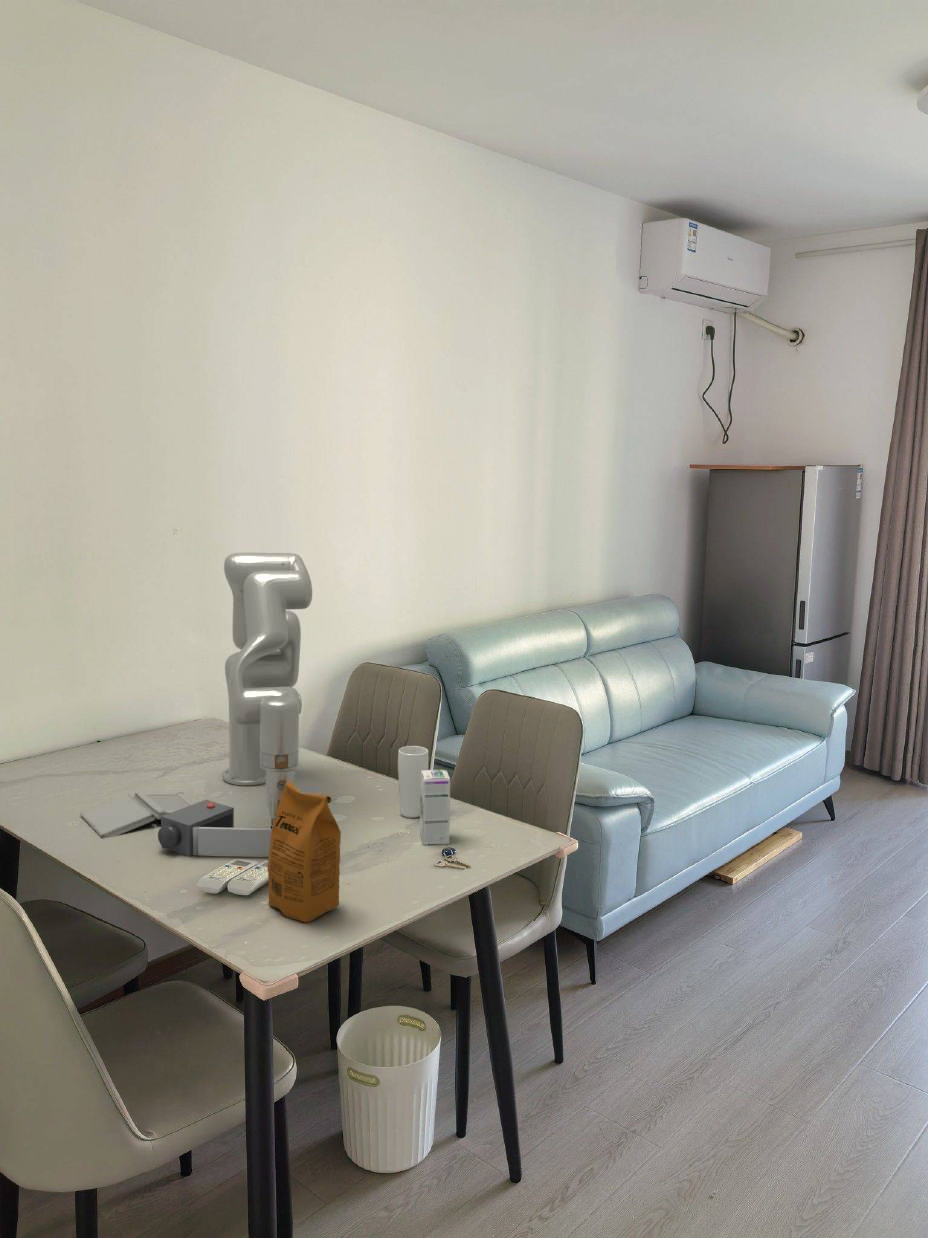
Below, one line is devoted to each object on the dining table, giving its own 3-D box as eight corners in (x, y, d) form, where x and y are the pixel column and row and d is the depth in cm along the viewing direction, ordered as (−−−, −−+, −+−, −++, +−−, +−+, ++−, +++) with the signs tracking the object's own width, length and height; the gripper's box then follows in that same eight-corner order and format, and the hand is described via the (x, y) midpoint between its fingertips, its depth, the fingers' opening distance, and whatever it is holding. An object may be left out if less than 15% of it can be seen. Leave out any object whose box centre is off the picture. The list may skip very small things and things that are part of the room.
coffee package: (303, 887, 177) (304, 773, 173) (347, 909, 169) (349, 790, 165) (258, 904, 170) (258, 785, 166) (302, 928, 161) (302, 804, 158)
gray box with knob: (206, 828, 202) (206, 796, 201) (234, 837, 198) (233, 805, 197) (153, 850, 191) (153, 816, 190) (181, 860, 187) (181, 825, 185)
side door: (293, 855, 190) (293, 828, 189) (292, 858, 188) (292, 831, 187) (193, 852, 189) (193, 826, 188) (191, 856, 188) (191, 829, 187)
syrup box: (449, 844, 199) (452, 777, 196) (421, 845, 198) (423, 778, 195) (445, 834, 204) (448, 769, 202) (418, 834, 203) (420, 769, 201)
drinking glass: (433, 814, 215) (435, 750, 212) (411, 822, 210) (413, 756, 208) (412, 806, 219) (413, 743, 217) (390, 814, 215) (391, 749, 212)
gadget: (102, 842, 196) (101, 824, 195) (79, 819, 207) (79, 802, 207) (208, 819, 210) (207, 803, 209) (181, 799, 221) (181, 783, 221)
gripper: (303, 769, 183) (302, 859, 186) (293, 746, 197) (292, 830, 200) (263, 771, 181) (263, 863, 184) (256, 748, 195) (256, 833, 198)
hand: (278, 845), depth 192 cm, fingers closed
